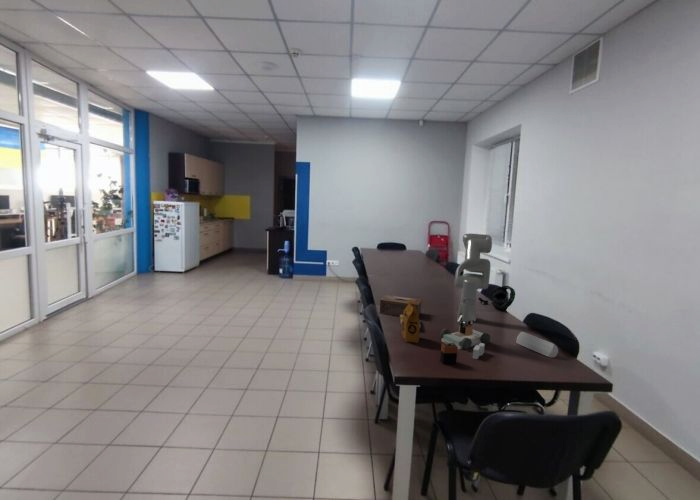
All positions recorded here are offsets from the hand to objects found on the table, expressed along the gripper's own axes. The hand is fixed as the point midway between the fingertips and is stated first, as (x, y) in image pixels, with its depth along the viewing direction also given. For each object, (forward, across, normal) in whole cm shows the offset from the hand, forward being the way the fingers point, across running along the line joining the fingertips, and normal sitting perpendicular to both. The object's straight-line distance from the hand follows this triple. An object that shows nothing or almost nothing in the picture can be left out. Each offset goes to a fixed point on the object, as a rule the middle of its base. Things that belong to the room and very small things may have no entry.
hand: (465, 332), depth 213 cm
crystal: (+6, -28, +26) cm, 38 cm away
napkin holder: (+6, +8, +17) cm, 20 cm away
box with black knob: (+1, 0, 0) cm, 1 cm away
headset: (+5, -78, -35) cm, 85 cm away
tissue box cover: (+6, -1, -57) cm, 57 cm away
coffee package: (+6, +26, -17) cm, 32 cm away
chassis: (+6, 0, 0) cm, 6 cm away
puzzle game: (+6, +10, -35) cm, 37 cm away
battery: (+6, +30, +15) cm, 34 cm away
